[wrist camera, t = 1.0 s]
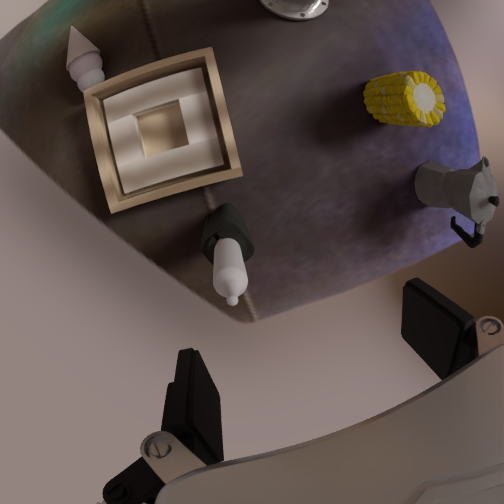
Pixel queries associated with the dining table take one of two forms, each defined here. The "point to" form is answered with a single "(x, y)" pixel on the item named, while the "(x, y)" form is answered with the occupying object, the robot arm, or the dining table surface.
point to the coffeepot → (460, 194)
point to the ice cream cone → (83, 61)
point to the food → (405, 99)
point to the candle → (227, 251)
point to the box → (161, 130)
